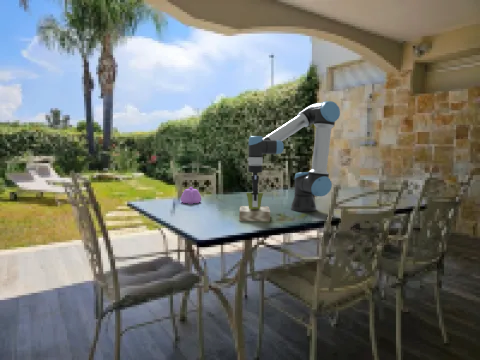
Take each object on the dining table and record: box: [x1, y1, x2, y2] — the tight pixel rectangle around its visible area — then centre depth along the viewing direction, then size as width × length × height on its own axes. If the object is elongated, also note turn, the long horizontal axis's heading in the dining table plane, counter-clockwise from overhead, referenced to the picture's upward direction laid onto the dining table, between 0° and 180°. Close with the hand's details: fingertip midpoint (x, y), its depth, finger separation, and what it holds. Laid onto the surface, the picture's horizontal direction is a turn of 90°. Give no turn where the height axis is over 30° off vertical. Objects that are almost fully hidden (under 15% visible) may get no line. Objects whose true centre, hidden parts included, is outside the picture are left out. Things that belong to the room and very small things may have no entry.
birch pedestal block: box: [238, 205, 271, 222], centre depth 196 cm, size 16×16×5 cm
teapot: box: [180, 186, 202, 205], centre depth 245 cm, size 14×20×11 cm
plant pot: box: [245, 192, 264, 209], centre depth 193 cm, size 9×9×9 cm
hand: (254, 204), depth 195 cm, fingers open, 12 cm apart
